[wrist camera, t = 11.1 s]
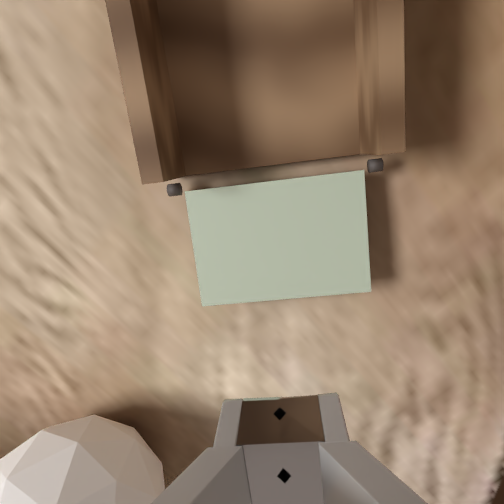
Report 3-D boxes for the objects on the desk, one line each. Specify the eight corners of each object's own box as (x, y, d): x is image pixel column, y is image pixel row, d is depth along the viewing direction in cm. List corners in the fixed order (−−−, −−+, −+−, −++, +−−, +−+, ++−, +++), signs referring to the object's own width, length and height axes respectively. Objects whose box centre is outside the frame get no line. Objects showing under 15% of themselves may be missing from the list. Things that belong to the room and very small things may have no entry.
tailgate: (184, 191, 24) (202, 306, 25) (364, 169, 22) (371, 291, 24) (189, 191, 25) (205, 300, 26) (359, 170, 24) (366, 286, 25)
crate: (124, -96, 21) (67, -188, 16) (365, -146, 20) (401, -267, 14) (176, 193, 26) (146, 206, 20) (375, 169, 24) (405, 175, 19)
